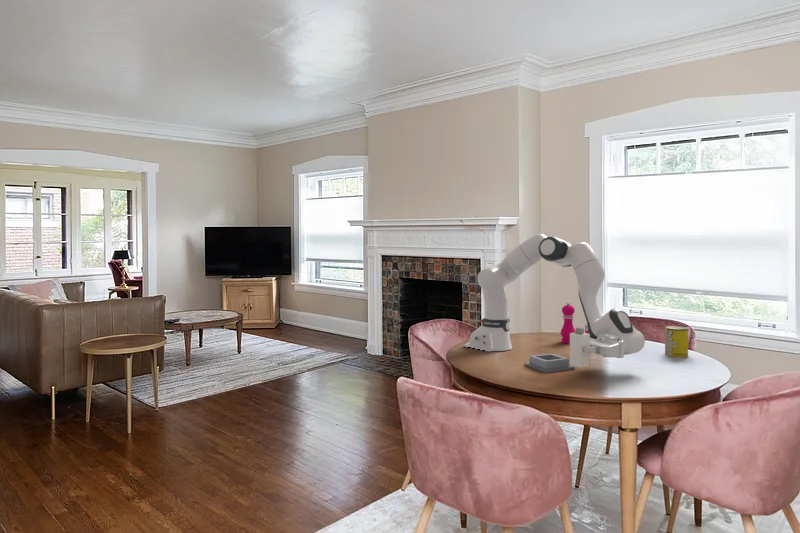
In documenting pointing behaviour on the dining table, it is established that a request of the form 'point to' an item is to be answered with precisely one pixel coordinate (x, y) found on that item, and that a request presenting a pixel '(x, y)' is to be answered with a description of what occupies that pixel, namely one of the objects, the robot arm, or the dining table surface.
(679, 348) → the yellow tin can
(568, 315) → the pepper mill
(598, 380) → the dining table surface
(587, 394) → the dining table surface
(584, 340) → the spigot peg
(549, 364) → the socket dock
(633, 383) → the dining table surface
